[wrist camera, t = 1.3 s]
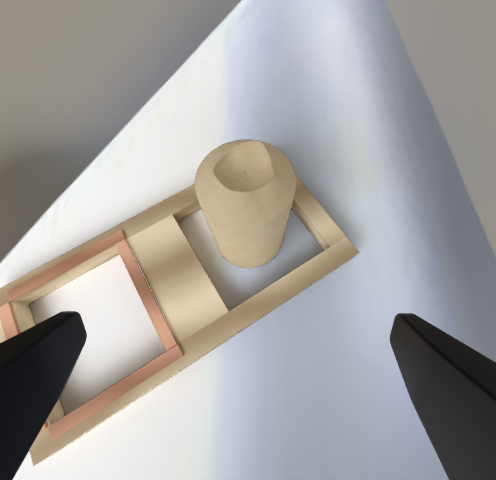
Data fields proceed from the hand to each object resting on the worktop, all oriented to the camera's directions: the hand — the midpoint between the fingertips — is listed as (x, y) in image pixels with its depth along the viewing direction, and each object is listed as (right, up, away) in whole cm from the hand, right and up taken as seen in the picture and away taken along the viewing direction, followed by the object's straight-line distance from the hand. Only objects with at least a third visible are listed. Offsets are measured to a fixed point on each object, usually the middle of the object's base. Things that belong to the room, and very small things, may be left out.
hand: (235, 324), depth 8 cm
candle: (0, +3, +15) cm, 15 cm away
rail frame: (-5, -1, +14) cm, 15 cm away
